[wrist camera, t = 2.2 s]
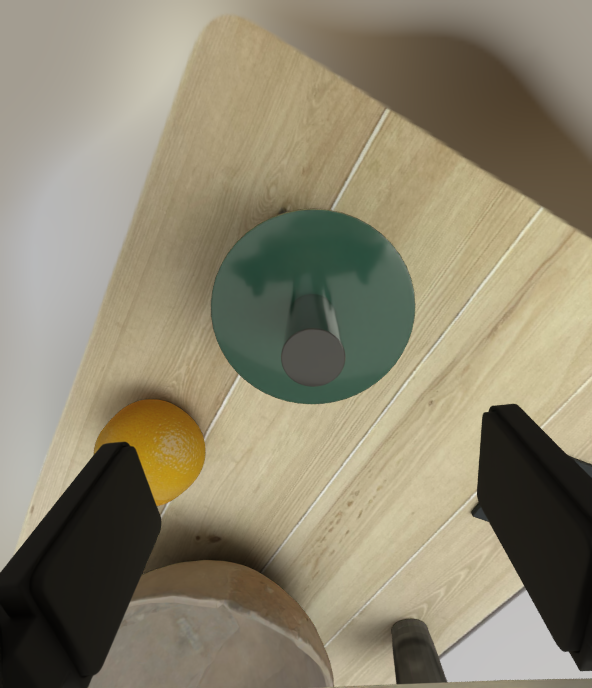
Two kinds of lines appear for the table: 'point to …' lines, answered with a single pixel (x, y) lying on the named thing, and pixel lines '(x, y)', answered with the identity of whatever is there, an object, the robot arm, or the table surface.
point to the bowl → (214, 633)
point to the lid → (313, 306)
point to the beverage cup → (415, 654)
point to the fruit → (159, 445)
